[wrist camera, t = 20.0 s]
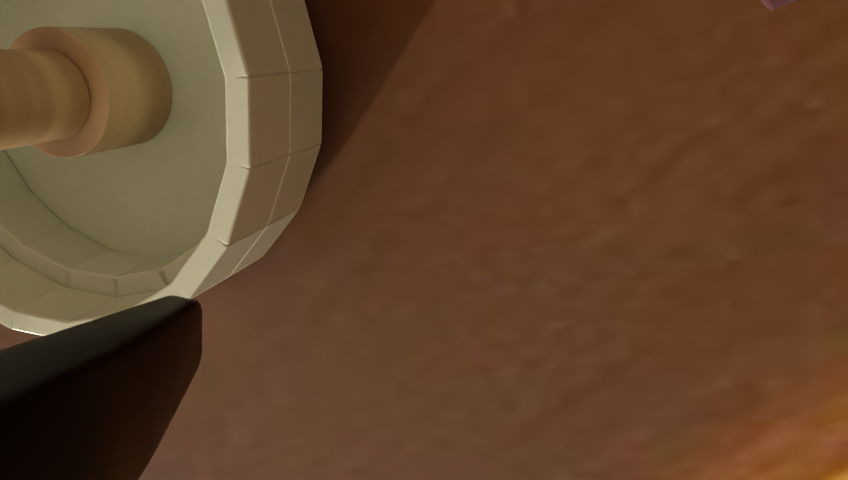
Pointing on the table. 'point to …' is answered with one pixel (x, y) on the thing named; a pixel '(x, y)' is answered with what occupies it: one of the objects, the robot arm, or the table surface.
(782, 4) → the icecream
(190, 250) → the bowl
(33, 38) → the cylinder
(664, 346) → the table surface
